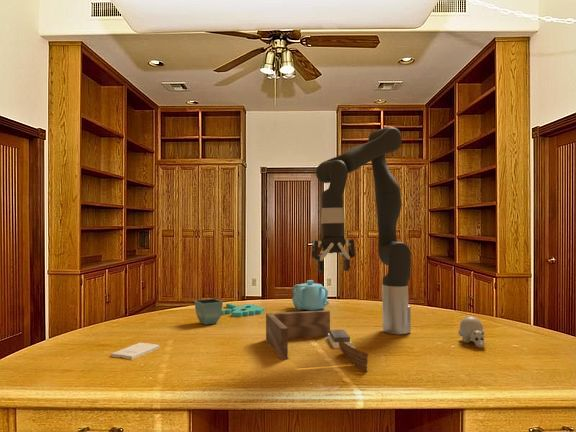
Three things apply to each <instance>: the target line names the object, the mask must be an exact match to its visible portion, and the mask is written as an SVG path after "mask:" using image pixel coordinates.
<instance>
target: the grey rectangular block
mask: <svg viewBox="0 0 576 432" xmlns="http://www.w3.org/2000/svg"><path fill="white" fill-rule="evenodd" d="M330 336H331V337H332V339H333V340H334V342H339V340H341V341H343V342H350V340H351V337H350V335H349V333H348V332H346V330H345V329H330Z"/></svg>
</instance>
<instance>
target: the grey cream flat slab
mask: <svg viewBox="0 0 576 432" xmlns="http://www.w3.org/2000/svg"><path fill="white" fill-rule="evenodd" d="M323 337H324V339H325V340H326V341H327V342H328V343H329V344H330V346H331V347H332V348H333V346H332V344H331V342H330V341H329V339H328V336H323ZM352 348H354V349H357V347H356V346H355V345H354V344H353V343H352ZM333 349H334V350H341V349H340V348H333Z"/></svg>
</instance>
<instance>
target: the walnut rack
mask: <svg viewBox="0 0 576 432" xmlns="http://www.w3.org/2000/svg"><path fill="white" fill-rule="evenodd" d="M265 318H266V319H265V328H266V329H265V341H267V343H268V344H269V346H270V348H272V349H273V351H274V352H275V353H276V355H277V357H279V359H280V360H288V358H289V355H288V353H289V351H288V350H289V349H288V343H289V341H288V339H300V338H301V339H303V338H315V337H328V334H329V333H330V330H331V311H330V310H328V309H327V310H324V309H323V310H315V311H310V310H306V311H288V312H274V313H273V312H271V313H270V312H269V313H266V315H265Z"/></svg>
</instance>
